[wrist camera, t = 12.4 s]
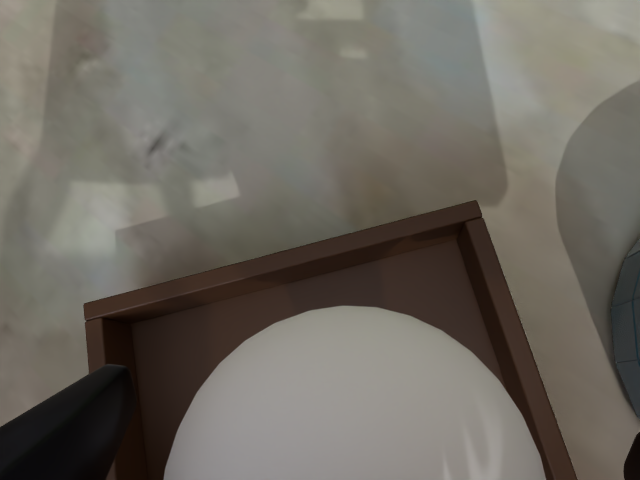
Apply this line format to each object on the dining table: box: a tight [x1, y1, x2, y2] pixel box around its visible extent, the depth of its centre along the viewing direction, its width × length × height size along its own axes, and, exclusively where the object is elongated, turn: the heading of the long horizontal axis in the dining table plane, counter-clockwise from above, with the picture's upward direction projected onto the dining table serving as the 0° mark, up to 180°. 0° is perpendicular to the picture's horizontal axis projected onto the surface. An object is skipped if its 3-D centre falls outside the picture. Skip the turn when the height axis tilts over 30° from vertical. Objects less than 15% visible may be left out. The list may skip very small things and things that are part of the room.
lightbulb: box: [164, 306, 546, 480], centre depth 11 cm, size 6×6×11 cm
